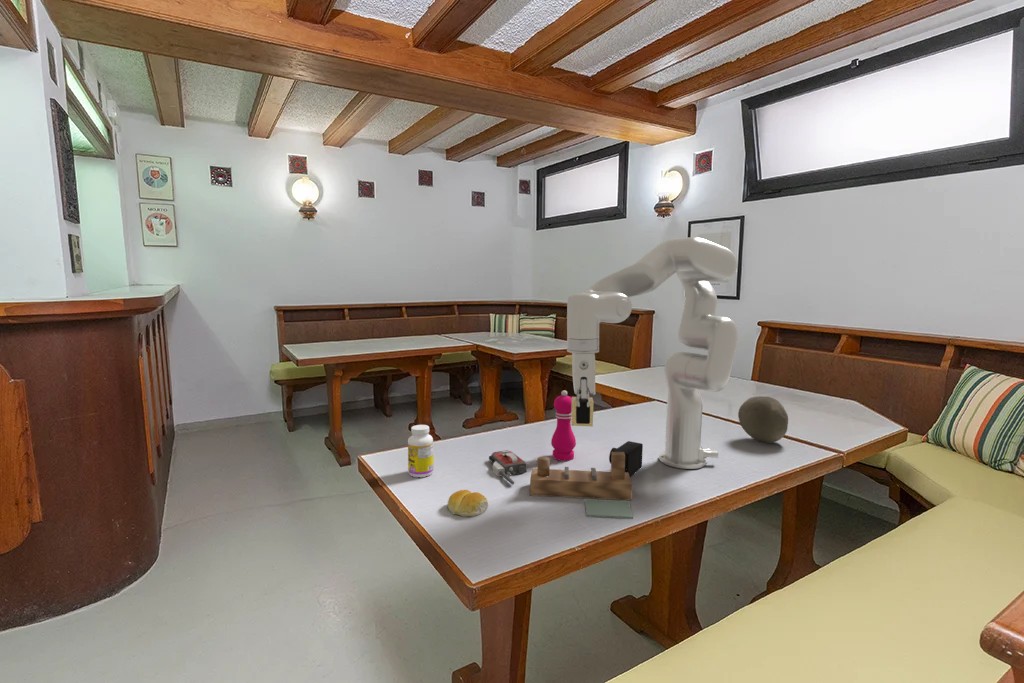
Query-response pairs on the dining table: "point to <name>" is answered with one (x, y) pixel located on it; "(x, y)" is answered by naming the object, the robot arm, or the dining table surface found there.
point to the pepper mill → (563, 429)
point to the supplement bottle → (420, 452)
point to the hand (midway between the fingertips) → (582, 419)
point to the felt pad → (608, 508)
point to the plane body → (582, 481)
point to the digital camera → (630, 456)
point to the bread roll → (467, 503)
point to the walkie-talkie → (507, 464)
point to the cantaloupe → (763, 419)
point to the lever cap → (573, 412)
